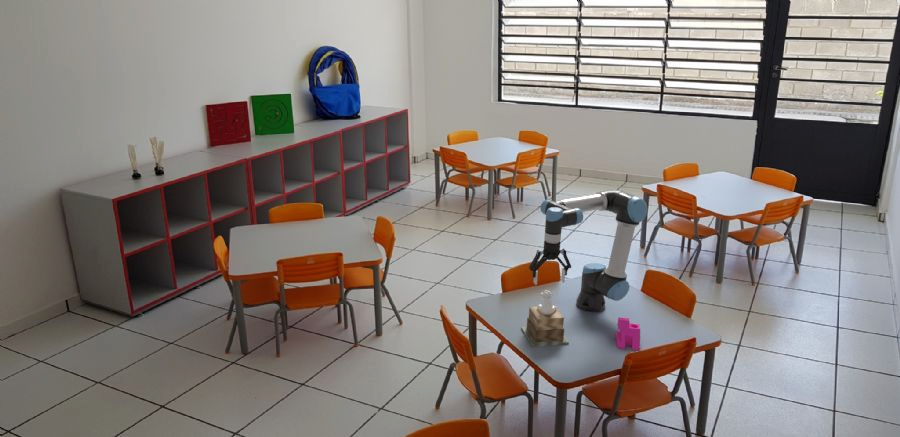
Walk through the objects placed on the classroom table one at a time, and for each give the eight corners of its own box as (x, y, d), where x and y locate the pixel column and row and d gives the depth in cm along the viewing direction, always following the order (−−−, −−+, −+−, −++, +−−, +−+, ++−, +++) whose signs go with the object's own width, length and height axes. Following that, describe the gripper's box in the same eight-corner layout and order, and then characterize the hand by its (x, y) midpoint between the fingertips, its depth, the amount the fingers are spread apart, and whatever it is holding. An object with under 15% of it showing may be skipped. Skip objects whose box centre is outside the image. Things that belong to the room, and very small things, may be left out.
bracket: (616, 336, 349) (618, 317, 346) (637, 338, 348) (640, 319, 344) (617, 348, 338) (619, 329, 334) (639, 350, 336) (642, 331, 333)
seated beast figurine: (556, 309, 345) (558, 286, 341) (556, 317, 337) (558, 294, 333) (537, 307, 347) (539, 284, 343) (536, 315, 339) (537, 292, 335)
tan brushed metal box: (555, 325, 357) (557, 302, 352) (568, 343, 340) (570, 319, 336) (521, 328, 353) (523, 304, 349) (532, 346, 337) (534, 322, 332)
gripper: (574, 236, 336) (571, 277, 343) (524, 239, 331) (521, 280, 338) (580, 242, 329) (576, 284, 336) (528, 245, 324) (526, 287, 331)
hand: (549, 282), depth 337 cm, fingers open, 13 cm apart
